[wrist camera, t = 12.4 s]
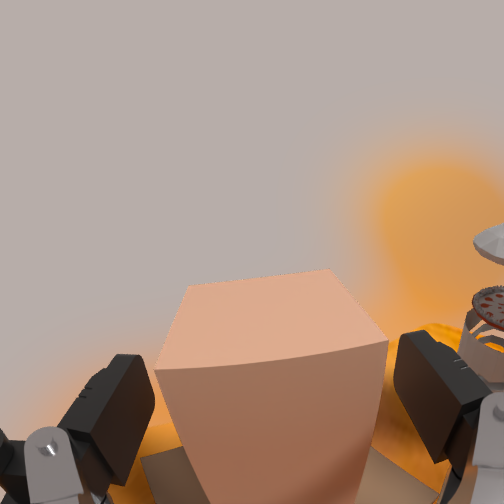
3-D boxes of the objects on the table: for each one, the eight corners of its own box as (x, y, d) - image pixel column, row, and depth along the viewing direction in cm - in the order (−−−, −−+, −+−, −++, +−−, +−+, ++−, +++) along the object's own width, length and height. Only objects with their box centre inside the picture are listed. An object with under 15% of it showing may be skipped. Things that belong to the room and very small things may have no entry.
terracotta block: (326, 447, 13) (329, 268, 11) (347, 522, 8) (388, 339, 6) (230, 459, 13) (188, 285, 11) (229, 538, 8) (153, 369, 6)
